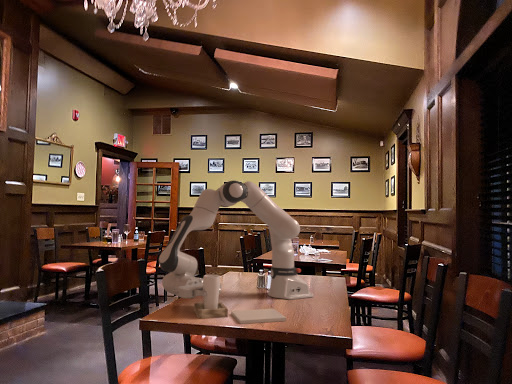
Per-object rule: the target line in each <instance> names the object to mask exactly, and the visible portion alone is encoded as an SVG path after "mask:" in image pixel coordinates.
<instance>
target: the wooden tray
mask: <svg viewBox="0 0 512 384" xmlns="http://www.w3.org/2000/svg"><path fill="white" fill-rule="evenodd" d="M193 305H194V308H193V309H194V310H193V311H194V313H195V315H196V318H197V319H198V320H199V319H200V320H201V319H215V318H228V317H229V309H228V308H227V306H226V305H225V304H224V303H223V302H222V301H221V302H219V301H218V307H217V309H204V302H203V303H202V302H200V303H199V302H198V303H194V304H193Z"/></svg>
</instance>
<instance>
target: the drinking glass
mask: <svg viewBox="0 0 512 384" xmlns="http://www.w3.org/2000/svg"><path fill="white" fill-rule="evenodd" d="M202 278H203V291H206V292H207V293H206V294H207V295H206V296H202V297H203V303H204V309H217V307H218V302H219V297H220V293H219V290H220V283H221V276H220V275H219V274H205V275H203V277H202Z"/></svg>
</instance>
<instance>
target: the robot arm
mask: <svg viewBox="0 0 512 384" xmlns="http://www.w3.org/2000/svg"><path fill="white" fill-rule="evenodd" d="M239 202H242V203H244V204H245V205H246V206H247V208H248V209H250V211H252V213H253V214H255V216H256V217H257V218H258V219H259V220H260V221H262V222H263V223H264V224H265V225H267V227H268V231H269V234H270V243H271V253H272V254H271V266H270V267H271V268H270V278H271V279H270V286H269V291H268V296H269V297H272V298H276V299H286V300H297V299H298V300H299V299H307V298H313V297H314V293H313V292H311V291H310V289H309V284H308V282H306V280H305V279H304V278H302V277H301V276H300V275H298V273H301V272H302V269H301V268H297V267H295V249H294V246H293V242H292V240H293V239H296V238H297V237H298V236H299V234H300V232H301V226H300V224H299V222H298V221H297V220H296V219H295V218H294V217H292V216H291V215H290V214H289V213H288V212H286V211H285V210H284V209H283V208H281V206H279V205H278V204H276V202H274V200H272V198H271V197H270V196H269V195H268V194H267V193H266V192H265V191H264V190H263V189H262V188H261V187H260V186H258V185H257V184H256V183H255V182H253V181H249V180H247V181H245V182H241V181H238V180H228V181H227V182H224V184H222V185H220V187H219V188H217V189H216V190H215V189H212V188H206V189H203V190H202V191H201V193H200V194H199V196H198V198H197V199H196V202H195V204H194V206H193V208H192V211H191V212H190V214H188V215H185V216H184V217H183V218H182V219H181V221H179V223H178V226H177V227H176V229H175V230H174V232H173V234H172V236H171V237H170V239H169V240H168V243H167V245H166V246H164V248H163V250H162V251H161V252H160V254H159V256H158V264H159V267H160V269H161V270H162V271H164V272H167V273H168V274H166V275H164V276H163V278H162V280H161V282H162V283H161V285H162V288H163V289H164V290H165V292H167V293H169V294H171V295H174V296H177V297H178V298H181V299H191V300H192V299H195V298H196V297H203V296H206V295H207V294H206V293H207V292H206V291H203V277H196V276H197V272H198V269H199V263H198V260H197V258H196V257H195V256H192V255H190V254H187V253H185V252H183V251H181V250H180V249H181V247H182V245H183V243H184V241H185V239H186V238H187V237H188V236H187V235H189V233H190V232H192V231H204V230H207V229H209V228H211V227H212V226H213V224H214V223H215V220H216V218H217V214H218V211H219V209H220V208H228V207H229V208H230V207H232V206H235V205H237V204H238V203H239ZM222 287H223V286H222V283H221V282H220V290H219V294H221V293H222Z"/></svg>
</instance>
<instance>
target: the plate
mask: <svg viewBox="0 0 512 384" xmlns="http://www.w3.org/2000/svg"><path fill="white" fill-rule="evenodd" d="M230 314H231V316H232V317H233V318H234V319H235V320H236V321H237V322H238V323H239V324H240V325H246V324H261V323H274V322H275V323H277V322H287V317H286V316H285V315H283V314H282V313H281V312H279V311H278V310H276V309H275V308H261V309H260V308H259V309H241V310H240V309H239V310H231V312H230Z"/></svg>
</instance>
